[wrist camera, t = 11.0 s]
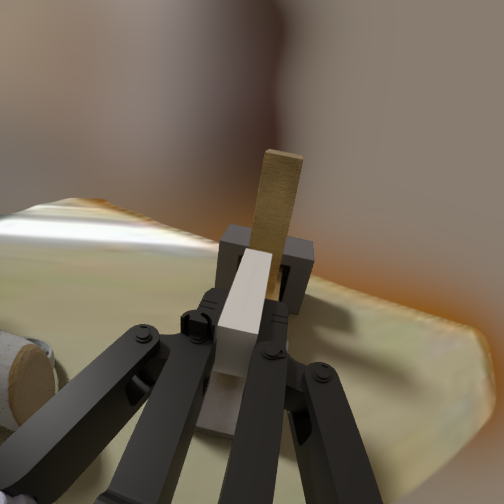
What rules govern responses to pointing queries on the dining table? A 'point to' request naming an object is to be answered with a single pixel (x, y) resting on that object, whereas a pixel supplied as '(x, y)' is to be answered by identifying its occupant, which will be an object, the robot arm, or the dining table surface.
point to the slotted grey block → (293, 259)
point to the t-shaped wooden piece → (275, 211)
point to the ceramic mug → (24, 378)
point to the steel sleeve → (222, 405)
